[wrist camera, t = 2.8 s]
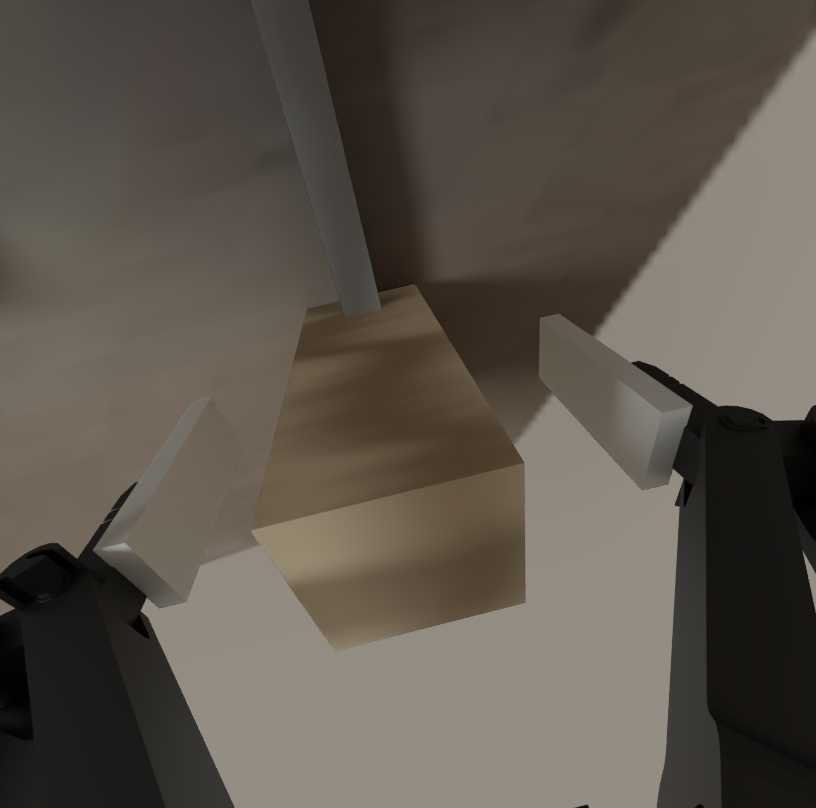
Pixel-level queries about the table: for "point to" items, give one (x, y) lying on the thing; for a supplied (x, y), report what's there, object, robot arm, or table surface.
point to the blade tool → (377, 420)
